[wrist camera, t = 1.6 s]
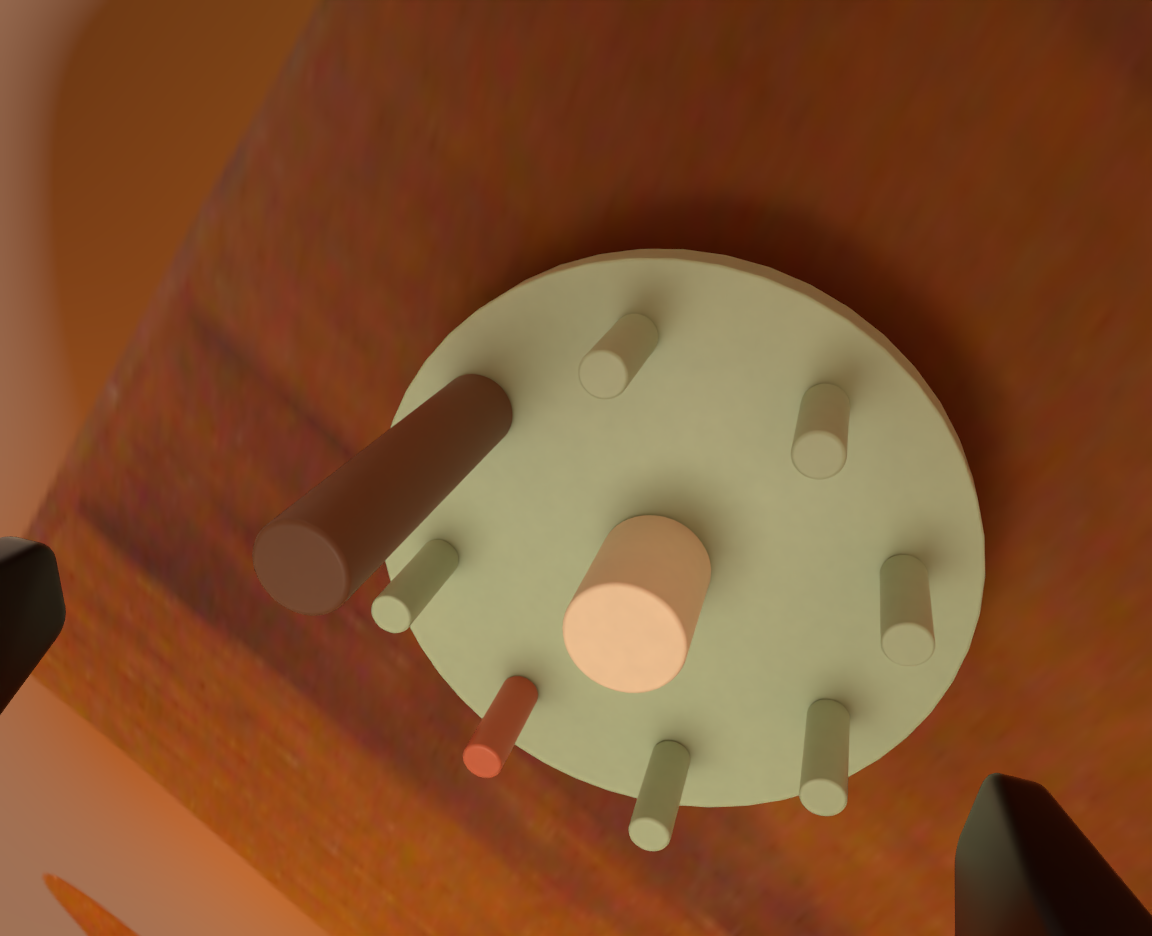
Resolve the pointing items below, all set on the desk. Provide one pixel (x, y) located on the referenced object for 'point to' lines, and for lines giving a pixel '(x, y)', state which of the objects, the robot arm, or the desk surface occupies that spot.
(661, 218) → the desk surface
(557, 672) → the pegged crank wheel
